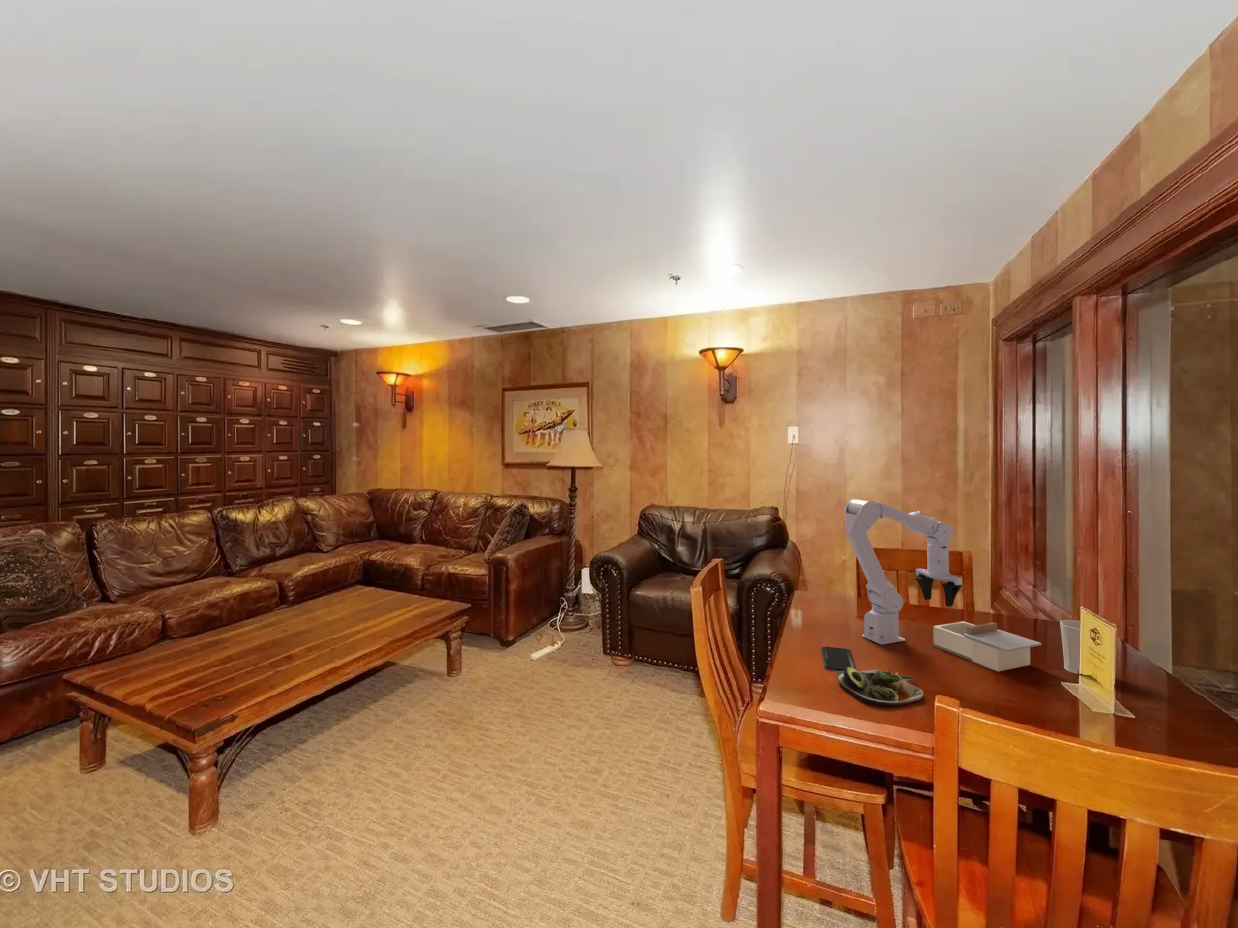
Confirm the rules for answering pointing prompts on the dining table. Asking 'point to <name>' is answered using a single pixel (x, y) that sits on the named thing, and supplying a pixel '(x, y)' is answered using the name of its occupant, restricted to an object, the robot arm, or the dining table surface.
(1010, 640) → the lid
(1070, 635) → the cup
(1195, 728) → the dining table surface
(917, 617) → the dining table surface
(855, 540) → the robot arm
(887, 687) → the salad plate
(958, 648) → the carton
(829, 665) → the phone
